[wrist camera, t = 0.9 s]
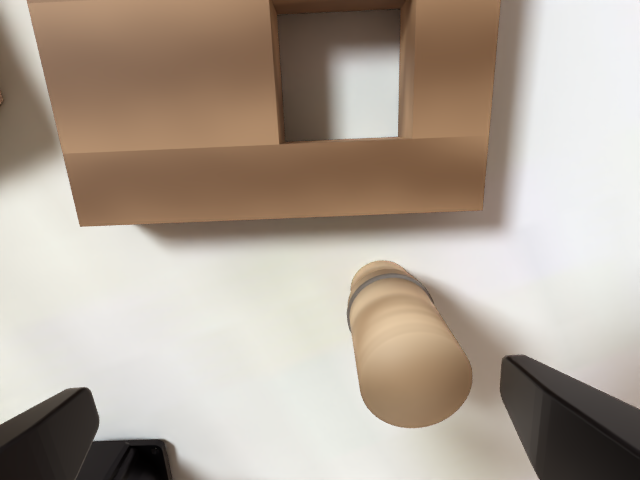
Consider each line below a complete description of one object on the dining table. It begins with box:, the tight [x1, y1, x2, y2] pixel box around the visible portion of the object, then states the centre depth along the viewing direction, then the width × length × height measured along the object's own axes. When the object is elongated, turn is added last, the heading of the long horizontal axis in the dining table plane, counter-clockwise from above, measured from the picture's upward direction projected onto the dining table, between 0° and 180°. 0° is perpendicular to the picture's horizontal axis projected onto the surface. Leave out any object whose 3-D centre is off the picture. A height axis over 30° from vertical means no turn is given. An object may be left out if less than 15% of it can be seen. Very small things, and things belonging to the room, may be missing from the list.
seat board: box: [27, 0, 501, 227], centre depth 16 cm, size 12×18×3 cm, turn 92°
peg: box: [347, 261, 472, 428], centre depth 17 cm, size 4×4×8 cm
